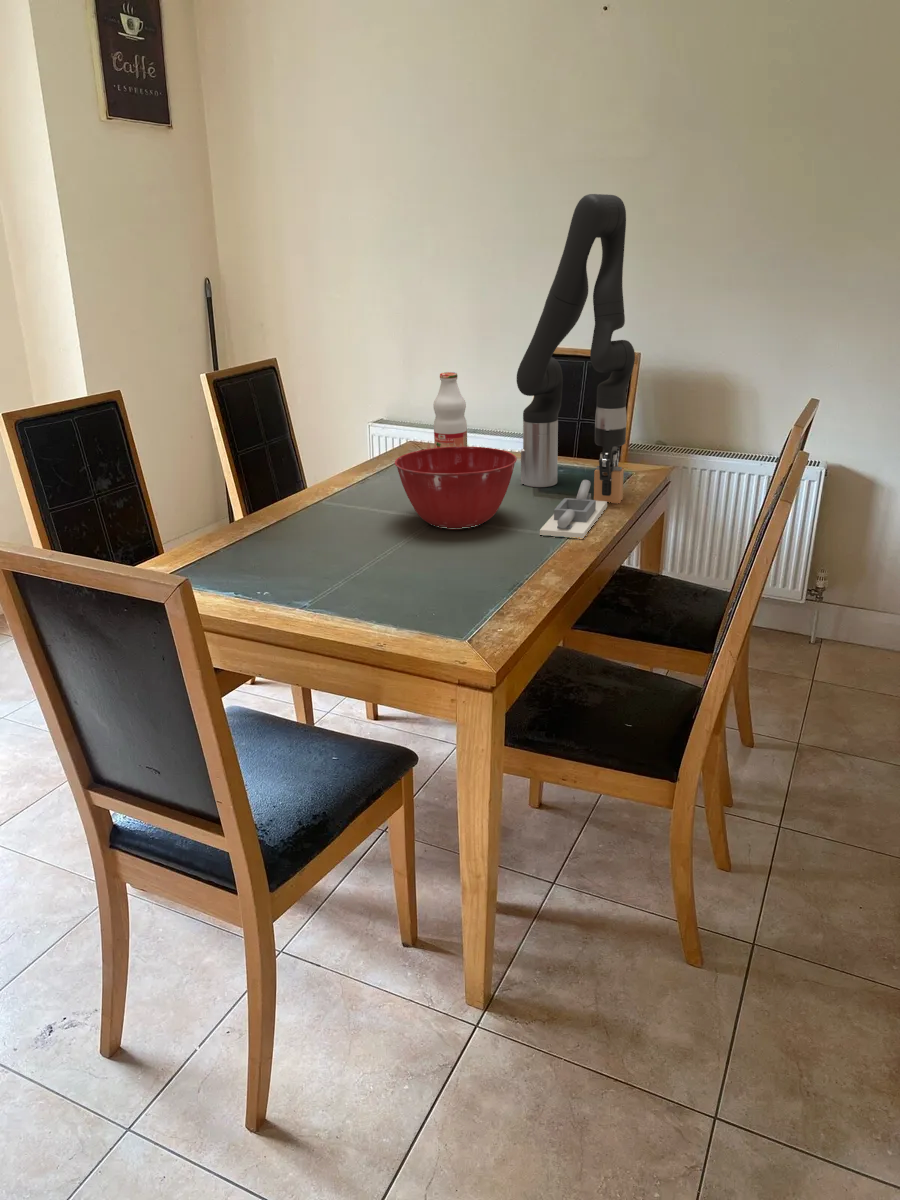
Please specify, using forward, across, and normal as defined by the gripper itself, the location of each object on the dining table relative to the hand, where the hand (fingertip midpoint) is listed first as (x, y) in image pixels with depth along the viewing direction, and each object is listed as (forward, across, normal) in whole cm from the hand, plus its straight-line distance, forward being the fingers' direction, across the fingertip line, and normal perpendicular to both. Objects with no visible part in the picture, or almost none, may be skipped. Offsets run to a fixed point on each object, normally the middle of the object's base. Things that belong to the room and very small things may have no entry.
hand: (608, 492), depth 228 cm
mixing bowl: (+2, +26, -31) cm, 41 cm away
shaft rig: (+2, +19, -4) cm, 20 cm away
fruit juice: (+2, -18, -49) cm, 52 cm away
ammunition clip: (+2, -3, -45) cm, 45 cm away
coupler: (+2, 0, 0) cm, 2 cm away
